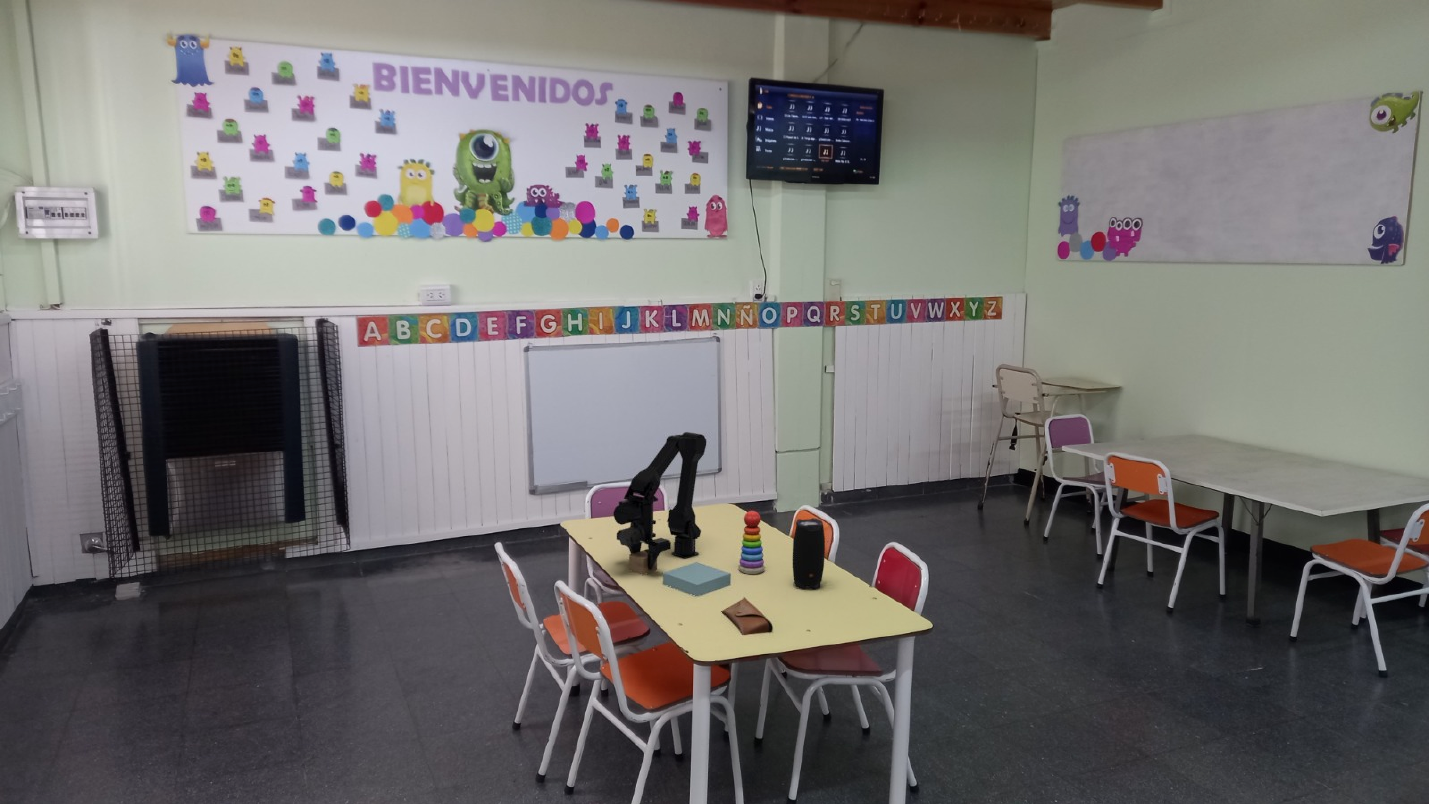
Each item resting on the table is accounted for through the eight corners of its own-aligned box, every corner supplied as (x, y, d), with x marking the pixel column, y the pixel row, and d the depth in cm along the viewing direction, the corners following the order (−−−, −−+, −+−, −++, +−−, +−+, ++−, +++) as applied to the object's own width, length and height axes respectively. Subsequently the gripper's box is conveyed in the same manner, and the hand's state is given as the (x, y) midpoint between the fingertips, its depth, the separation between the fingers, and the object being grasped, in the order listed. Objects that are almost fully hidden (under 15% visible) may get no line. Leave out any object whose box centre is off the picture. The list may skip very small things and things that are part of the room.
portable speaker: (820, 592, 274) (822, 527, 271) (788, 588, 276) (790, 523, 273) (825, 582, 282) (828, 519, 279) (794, 579, 285) (796, 516, 281)
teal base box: (696, 574, 288) (696, 562, 287) (730, 586, 278) (730, 573, 278) (662, 585, 278) (663, 572, 277) (696, 598, 268) (697, 584, 268)
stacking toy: (768, 569, 293) (770, 510, 290) (758, 576, 286) (760, 516, 283) (744, 565, 296) (746, 506, 293) (734, 572, 289) (736, 513, 286)
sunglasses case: (717, 610, 258) (729, 589, 259) (737, 620, 261) (750, 599, 261) (743, 636, 242) (756, 613, 242) (764, 646, 244) (777, 623, 245)
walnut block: (643, 565, 294) (643, 550, 293) (657, 570, 290) (657, 554, 289) (629, 570, 289) (629, 554, 289) (642, 575, 285) (642, 559, 285)
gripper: (603, 516, 287) (602, 565, 290) (644, 529, 275) (644, 581, 277) (630, 509, 295) (630, 557, 298) (672, 522, 283) (671, 572, 285)
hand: (643, 567), depth 289 cm, fingers closed on walnut block, 6 cm apart
